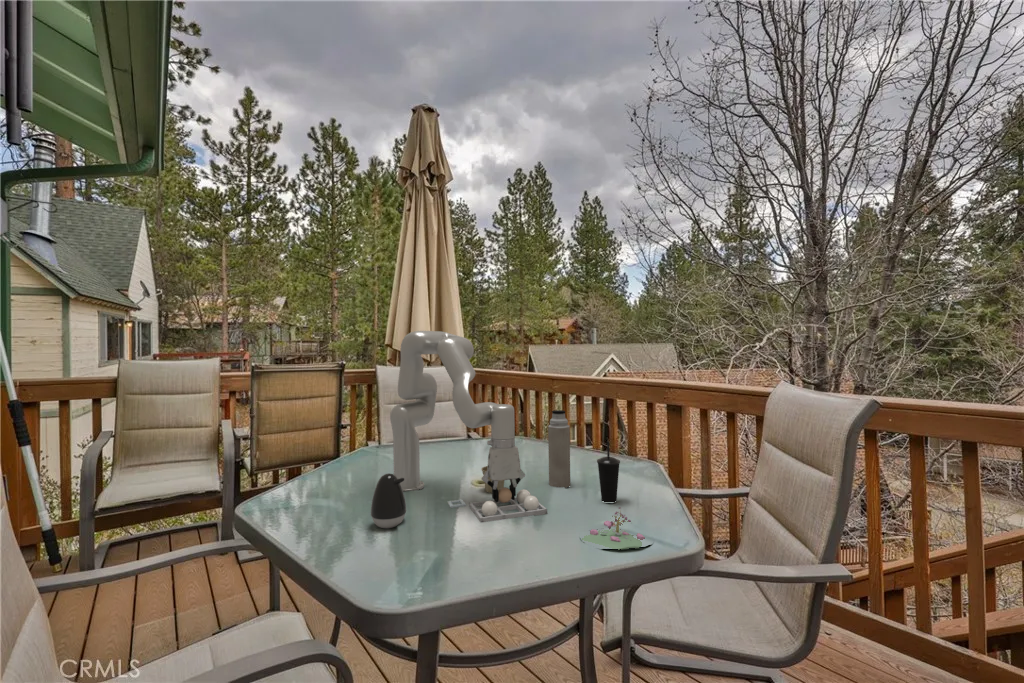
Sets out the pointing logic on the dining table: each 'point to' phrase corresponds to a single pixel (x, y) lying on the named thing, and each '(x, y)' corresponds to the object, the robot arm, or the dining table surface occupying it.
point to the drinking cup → (608, 477)
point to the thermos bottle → (559, 450)
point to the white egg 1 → (489, 508)
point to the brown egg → (504, 495)
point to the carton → (540, 510)
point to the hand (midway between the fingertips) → (504, 499)
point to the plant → (615, 536)
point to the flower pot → (487, 487)
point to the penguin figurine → (388, 502)
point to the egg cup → (456, 504)
